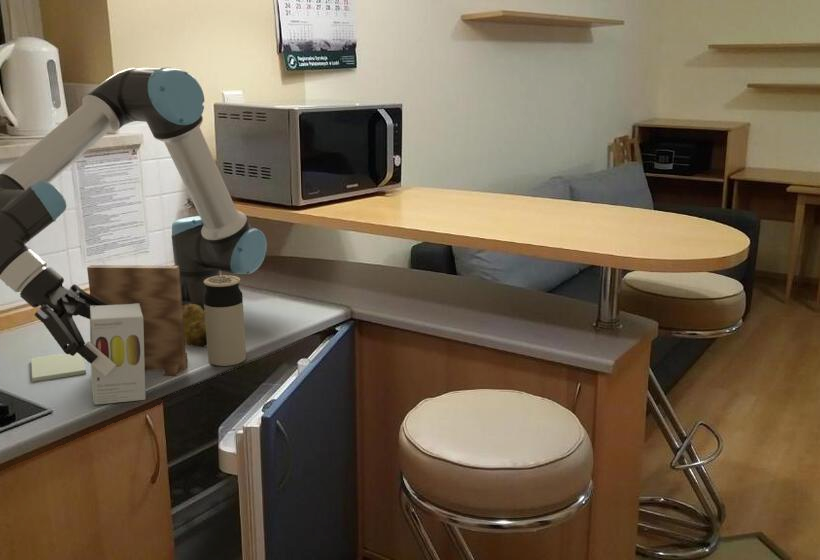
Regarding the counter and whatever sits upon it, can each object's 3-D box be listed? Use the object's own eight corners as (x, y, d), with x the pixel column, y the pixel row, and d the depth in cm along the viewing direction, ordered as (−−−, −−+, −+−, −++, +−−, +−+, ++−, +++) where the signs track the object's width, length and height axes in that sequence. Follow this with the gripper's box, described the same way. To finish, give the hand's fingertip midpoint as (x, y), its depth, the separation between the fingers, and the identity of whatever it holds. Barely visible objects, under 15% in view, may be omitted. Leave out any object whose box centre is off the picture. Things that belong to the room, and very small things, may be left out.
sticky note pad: (82, 354, 173) (81, 350, 173) (86, 373, 162) (85, 369, 162) (31, 361, 169) (31, 358, 168) (32, 381, 158) (32, 377, 158)
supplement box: (93, 405, 146) (88, 319, 142) (91, 387, 155) (87, 304, 150) (147, 400, 150) (144, 315, 146) (143, 382, 158) (140, 301, 154)
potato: (176, 352, 174) (173, 318, 172) (175, 333, 186) (173, 301, 184) (215, 348, 176) (212, 314, 174) (212, 330, 188) (209, 298, 186)
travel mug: (215, 369, 164) (209, 287, 160) (203, 358, 171) (197, 278, 166) (251, 362, 169) (247, 281, 164) (238, 351, 175) (233, 272, 170)
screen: (191, 361, 169) (183, 262, 163) (179, 376, 161) (171, 272, 155) (108, 360, 169) (97, 261, 163) (92, 375, 162) (80, 271, 156)
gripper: (51, 275, 159) (134, 347, 163) (-14, 314, 136) (85, 397, 140) (74, 250, 157) (157, 323, 161) (12, 285, 134) (111, 369, 138)
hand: (123, 357), depth 150 cm, fingers open, 12 cm apart
